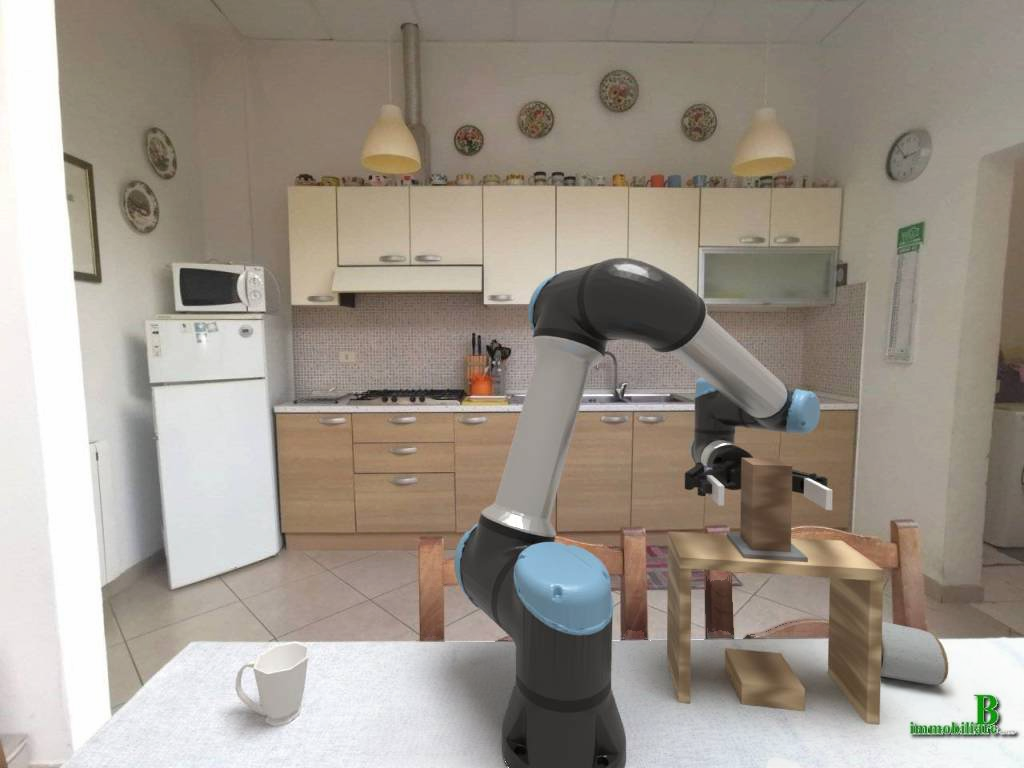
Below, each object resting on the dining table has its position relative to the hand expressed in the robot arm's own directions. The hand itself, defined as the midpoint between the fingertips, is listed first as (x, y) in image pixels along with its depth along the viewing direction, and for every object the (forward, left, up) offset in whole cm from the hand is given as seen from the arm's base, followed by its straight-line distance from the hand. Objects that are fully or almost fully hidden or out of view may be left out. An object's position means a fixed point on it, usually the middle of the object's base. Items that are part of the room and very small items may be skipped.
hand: (774, 498), depth 63 cm
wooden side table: (0, +3, -29) cm, 29 cm away
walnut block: (0, +3, -8) cm, 8 cm away
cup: (-67, -13, -29) cm, 74 cm away
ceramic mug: (+22, +11, -29) cm, 38 cm away
